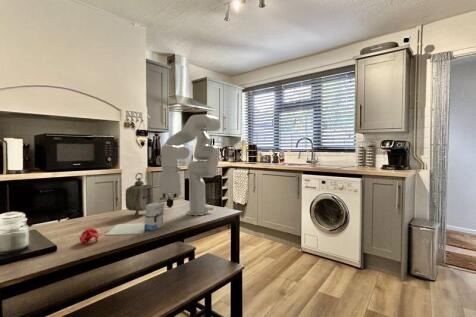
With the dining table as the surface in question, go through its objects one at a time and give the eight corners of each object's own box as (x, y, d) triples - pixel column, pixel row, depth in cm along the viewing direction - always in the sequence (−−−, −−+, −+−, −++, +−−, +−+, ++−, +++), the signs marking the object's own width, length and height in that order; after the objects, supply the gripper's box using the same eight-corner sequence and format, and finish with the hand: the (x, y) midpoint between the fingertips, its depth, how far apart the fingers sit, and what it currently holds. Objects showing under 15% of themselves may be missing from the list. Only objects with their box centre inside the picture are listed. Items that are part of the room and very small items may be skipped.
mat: (149, 223, 133) (149, 223, 133) (142, 233, 117) (142, 233, 117) (117, 225, 131) (117, 224, 131) (105, 235, 115) (105, 234, 115)
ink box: (152, 231, 121) (153, 206, 120) (143, 229, 123) (145, 205, 122) (163, 226, 129) (164, 203, 128) (154, 224, 131) (156, 201, 130)
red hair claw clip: (102, 235, 106) (100, 225, 110) (87, 234, 102) (85, 223, 106) (93, 249, 108) (91, 238, 112) (77, 248, 103) (76, 237, 107)
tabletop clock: (139, 218, 143) (138, 174, 142) (124, 218, 144) (123, 174, 143) (152, 212, 157) (151, 171, 156) (138, 211, 159) (138, 171, 158)
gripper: (185, 169, 131) (185, 205, 131) (155, 169, 128) (155, 206, 129) (184, 170, 123) (184, 208, 124) (152, 171, 121) (152, 209, 122)
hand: (170, 207), depth 126 cm, fingers closed
